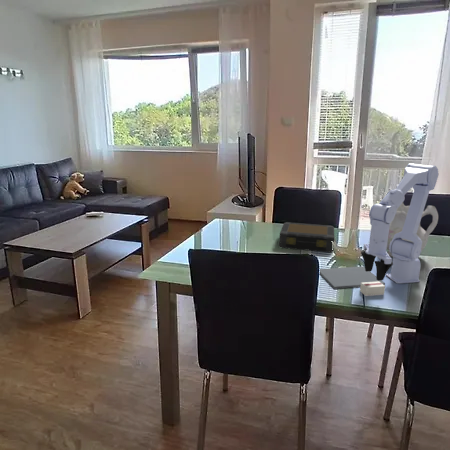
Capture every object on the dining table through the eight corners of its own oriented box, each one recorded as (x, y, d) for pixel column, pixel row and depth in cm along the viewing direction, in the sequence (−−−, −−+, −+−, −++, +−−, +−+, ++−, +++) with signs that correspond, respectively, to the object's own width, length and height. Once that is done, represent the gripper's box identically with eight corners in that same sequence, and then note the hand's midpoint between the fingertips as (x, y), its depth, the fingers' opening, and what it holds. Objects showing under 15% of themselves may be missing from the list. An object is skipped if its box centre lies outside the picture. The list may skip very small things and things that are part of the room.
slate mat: (363, 268, 156) (363, 266, 156) (384, 285, 141) (385, 283, 140) (317, 271, 153) (317, 269, 153) (334, 288, 138) (334, 286, 137)
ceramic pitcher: (431, 256, 171) (440, 202, 166) (429, 268, 155) (439, 208, 150) (381, 248, 182) (388, 197, 177) (374, 258, 166) (381, 202, 160)
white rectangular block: (377, 290, 137) (379, 281, 136) (383, 295, 133) (385, 285, 132) (359, 291, 136) (360, 282, 135) (365, 296, 132) (366, 287, 131)
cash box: (332, 239, 191) (334, 224, 189) (333, 253, 173) (334, 237, 170) (283, 235, 198) (284, 221, 195) (278, 248, 179) (279, 233, 177)
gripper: (357, 232, 135) (353, 267, 139) (379, 246, 121) (374, 285, 125) (375, 232, 136) (371, 266, 140) (399, 245, 122) (393, 283, 126)
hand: (374, 275), depth 133 cm, fingers open, 7 cm apart
